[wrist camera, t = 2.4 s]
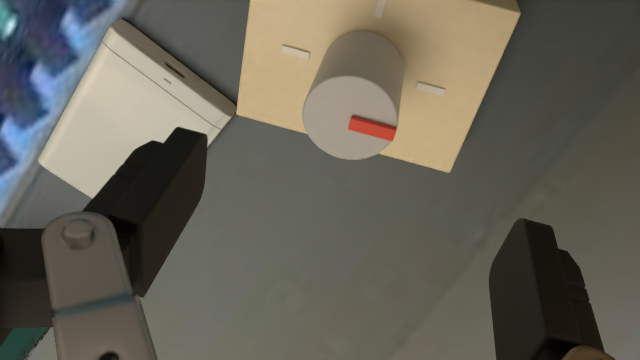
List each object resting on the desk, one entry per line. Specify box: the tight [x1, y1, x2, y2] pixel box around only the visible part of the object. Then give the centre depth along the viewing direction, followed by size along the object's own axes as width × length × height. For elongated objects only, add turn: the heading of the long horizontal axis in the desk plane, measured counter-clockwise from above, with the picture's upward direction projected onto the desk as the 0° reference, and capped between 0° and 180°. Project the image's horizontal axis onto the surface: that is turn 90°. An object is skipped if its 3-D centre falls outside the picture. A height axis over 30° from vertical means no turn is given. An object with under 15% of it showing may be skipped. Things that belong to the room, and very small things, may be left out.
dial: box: [302, 31, 404, 160], centre depth 24 cm, size 4×4×5 cm
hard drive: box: [38, 19, 237, 199], centre depth 34 cm, size 2×8×12 cm
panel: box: [236, 0, 521, 173], centre depth 27 cm, size 12×9×3 cm
